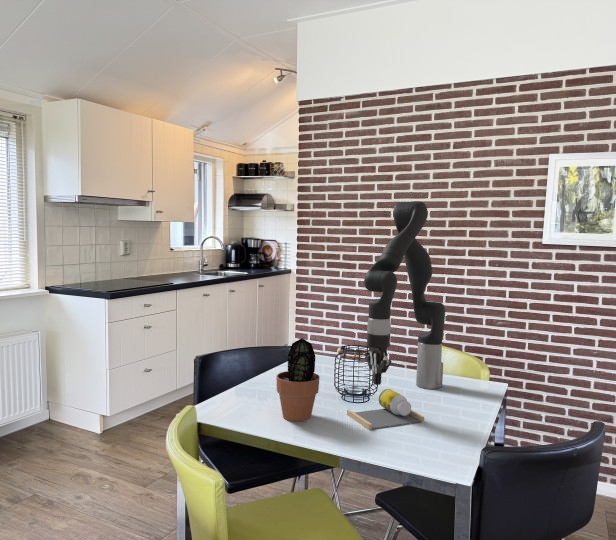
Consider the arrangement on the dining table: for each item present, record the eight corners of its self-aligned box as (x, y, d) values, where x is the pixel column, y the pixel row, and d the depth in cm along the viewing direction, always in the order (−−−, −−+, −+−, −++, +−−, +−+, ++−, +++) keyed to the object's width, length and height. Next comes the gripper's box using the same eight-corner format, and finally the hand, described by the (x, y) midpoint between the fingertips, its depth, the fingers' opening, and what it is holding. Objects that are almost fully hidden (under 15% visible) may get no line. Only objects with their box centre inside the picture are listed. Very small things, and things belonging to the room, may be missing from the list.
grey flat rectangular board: (398, 407, 174) (399, 403, 174) (424, 421, 161) (424, 416, 161) (346, 414, 166) (346, 409, 165) (369, 429, 153) (369, 424, 153)
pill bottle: (374, 394, 171) (393, 404, 160) (390, 384, 173) (409, 394, 162) (381, 410, 172) (400, 422, 162) (396, 401, 174) (416, 412, 164)
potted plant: (266, 415, 163) (268, 337, 162) (300, 406, 172) (302, 333, 170) (293, 428, 153) (295, 345, 151) (327, 418, 161) (329, 340, 160)
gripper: (400, 335, 162) (397, 388, 163) (377, 327, 174) (376, 378, 175) (379, 336, 159) (377, 391, 160) (358, 328, 171) (356, 379, 172)
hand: (376, 384), depth 168 cm, fingers closed
